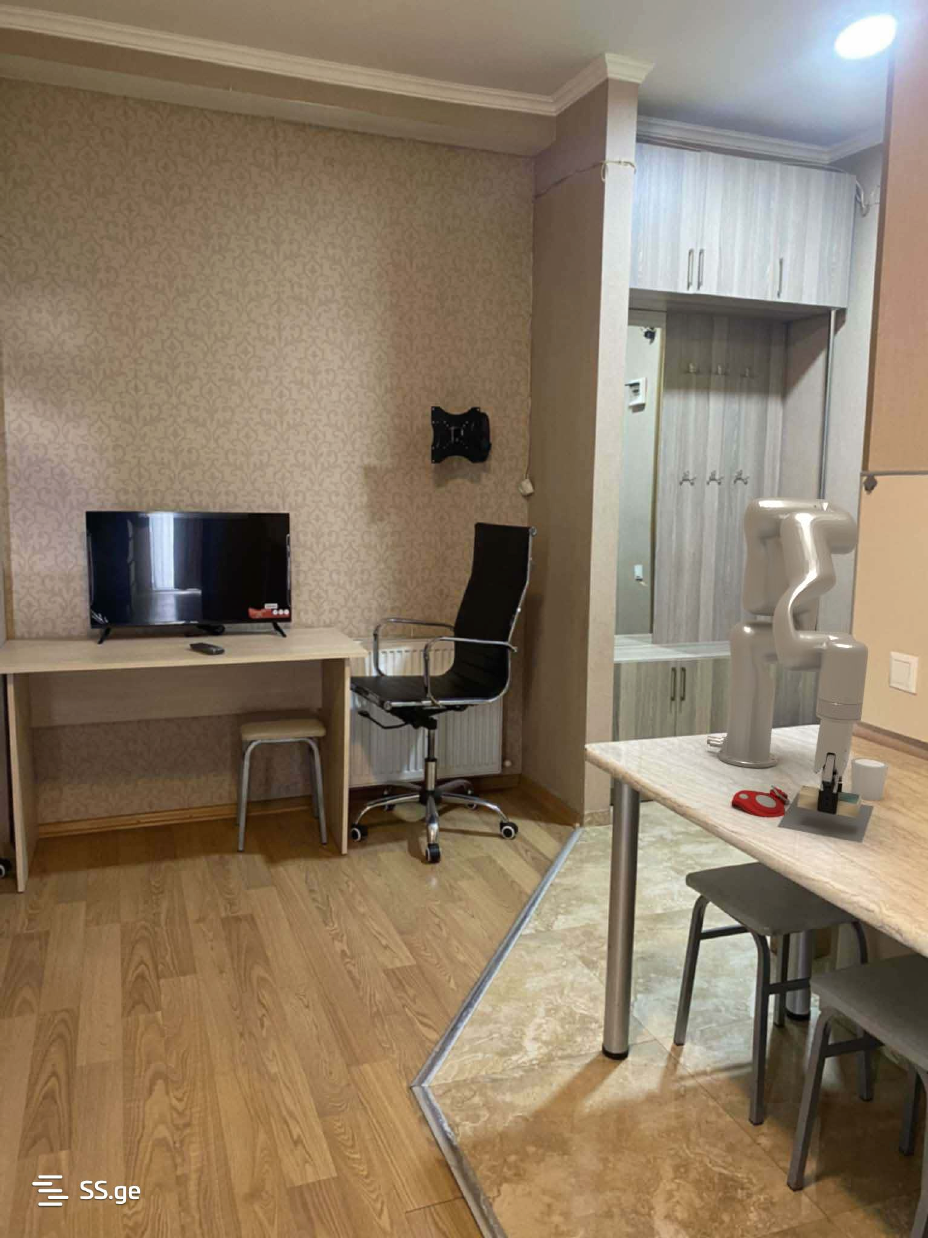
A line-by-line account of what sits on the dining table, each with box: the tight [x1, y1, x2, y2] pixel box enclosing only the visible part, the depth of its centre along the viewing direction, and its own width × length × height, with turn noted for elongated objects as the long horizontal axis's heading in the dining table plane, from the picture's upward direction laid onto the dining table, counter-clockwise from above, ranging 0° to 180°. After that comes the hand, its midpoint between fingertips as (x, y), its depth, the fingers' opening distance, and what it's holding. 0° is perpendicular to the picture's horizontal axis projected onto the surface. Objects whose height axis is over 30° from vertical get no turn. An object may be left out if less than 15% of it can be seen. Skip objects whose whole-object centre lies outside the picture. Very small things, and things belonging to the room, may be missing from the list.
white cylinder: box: [850, 757, 889, 802], centre depth 191 cm, size 7×7×7 cm
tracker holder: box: [730, 784, 791, 819], centre depth 181 cm, size 12×4×10 cm
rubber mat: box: [777, 792, 874, 844], centre depth 177 cm, size 14×22×1 cm, turn 152°
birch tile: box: [797, 785, 862, 818], centre depth 172 cm, size 10×5×3 cm, turn 62°
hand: (828, 806), depth 172 cm, fingers closed on birch tile, 4 cm apart
